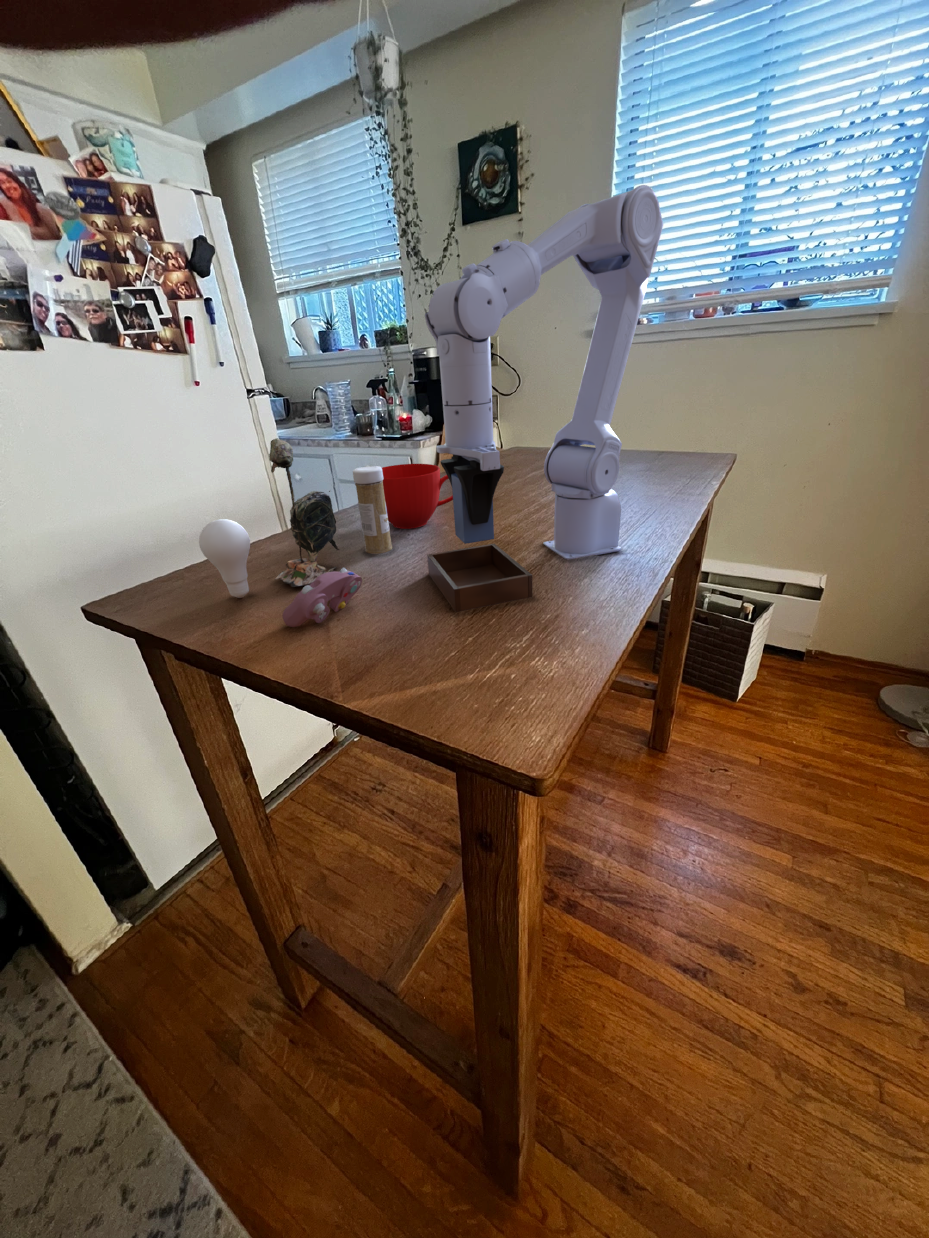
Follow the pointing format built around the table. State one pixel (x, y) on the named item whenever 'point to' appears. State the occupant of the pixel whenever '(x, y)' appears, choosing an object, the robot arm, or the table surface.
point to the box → (479, 577)
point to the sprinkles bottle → (372, 509)
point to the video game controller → (322, 597)
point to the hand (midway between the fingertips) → (473, 518)
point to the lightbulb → (227, 553)
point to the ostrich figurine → (305, 523)
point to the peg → (462, 521)
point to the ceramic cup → (412, 493)
